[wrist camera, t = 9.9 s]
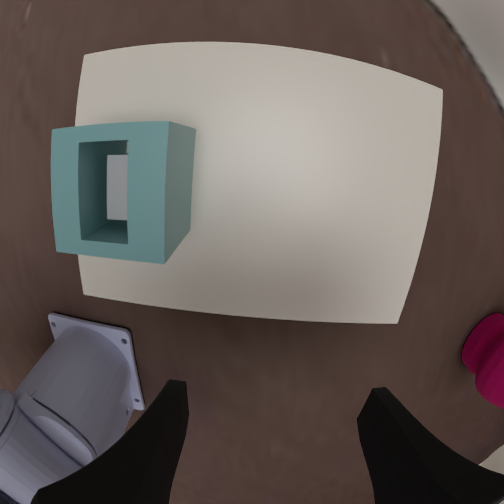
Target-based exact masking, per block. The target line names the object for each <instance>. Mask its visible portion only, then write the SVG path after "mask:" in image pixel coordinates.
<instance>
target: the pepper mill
mask: <svg viewBox="0 0 504 504" xmlns="http://www.w3.org/2000/svg"><path fill="white" fill-rule="evenodd" d="M462 361H463V363H464V364H465V365H466V367H467V368H468V369H469V371H470V372H471V373H473V374H476V378H475V384H476V388H477V390H478V392H479V393H480V394H481V395H482V397H483V398H484V399H486V400H487V401H488V402H490V403H491V404H494V405H496V406H498V407H501V408H503V409H504V315H502V314H500V313H495V314H491V315H489V316H488V317H486V318H484V319H483V320H482V321H481V322H480V323H479V324H478V325H477V326H476V327H475V328H474V329H473V331H472V332H471V334H470V335H469V336H468V338H467V340H466V342H465V344H464V347H463V350H462Z"/></svg>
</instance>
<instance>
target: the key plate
mask: <svg viewBox="0 0 504 504" xmlns="http://www.w3.org/2000/svg"><path fill="white" fill-rule="evenodd" d="M442 98H443V90H442V89H440V88H437V87H435V86H433V85H430V84H428V83H425V82H422V81H420V80H417V79H415V78H412V77H409V76H406V75H403V74H400V73H397V72H394V71H391V70H388V69H385V68H382V67H378V66H375V65H371V64H368V63H364V62H360V61H357V60H353V59H348V58H344V57H340V56H335V55H331V54H326V53H320V52H315V51H309V50H303V49H297V48H290V47H282V46H274V45H264V44H252V43H235V42H180V43H163V44H152V45H142V46H134V47H126V48H119V49H113V50H107V51H102V52H96V53H92V54H87V55H84V60H83V65H82V71H81V78H80V84H79V92H78V100H77V109H76V120H75V127H76V126H85V125H95V124H107V123H122V122H146V121H171V122H174V123H178V124H181V125H184V126H188V127H191V128H194V129H196V137H195V149H194V163H193V179H192V197H191V221H190V231H189V232H188V234H187V235H186V236H185V238H184V239H183V240H182V242H181V243H180V244H179V246H178V247H177V248H176V250H175V251H174V252H173V254H172V255H171V256H170V258H169V259H168V261H167V262H166V263H165V264H157V263H148V262H138V261H129V260H121V259H112V258H103V257H95V256H87V255H79V254H78V259H79V267H80V274H81V281H82V287H83V293H84V295H89V296H95V297H101V298H106V299H112V300H118V301H124V302H131V303H137V304H144V305H151V306H158V307H165V308H172V309H180V310H188V311H197V312H205V313H214V314H224V315H234V316H245V317H257V318H269V319H283V320H299V321H317V322H341V323H391V324H397V323H398V320H399V317H400V314H401V312H402V309H403V306H404V303H405V300H406V297H407V294H408V291H409V288H410V284H411V281H412V278H413V274H414V271H415V268H416V264H417V260H418V257H419V253H420V249H421V245H422V241H423V237H424V233H425V228H426V224H427V219H428V215H429V210H430V205H431V199H432V194H433V188H434V182H435V175H436V168H437V161H438V153H439V144H440V133H441V119H442ZM128 145H129V141H127V147H126V153H123V154H113V155H107V219H114V220H127V167H128Z"/></svg>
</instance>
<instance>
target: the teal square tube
mask: <svg viewBox="0 0 504 504" xmlns="http://www.w3.org/2000/svg"><path fill="white" fill-rule="evenodd" d="M195 137H196V129H194V128H191V127H188V126H184V125H181V124H178V123H174V122H171V121H146V122H122V123H107V124H95V125H85V126H76V127H67V128H60V129H53V130H52V142H51V194H52V212H53V224H54V234H55V243H56V251H57V252H63V253H71V254H79V255H87V256H95V257H103V258H112V259H121V260H129V261H138V262H148V263H157V264H165V263H166V262H167V261H168V259H169V258H170V256H171V255H172V254H173V252H174V251H175V250H176V248H177V247H178V246H179V244H180V243H181V242H182V240H183V239H184V238H185V236H186V235H187V234H188V232H189V231H190V221H191V197H192V179H193V163H194V149H195ZM127 141H129V145H128V167H127V220H114V219H107V155H113V154H123V153H126V147H127Z"/></svg>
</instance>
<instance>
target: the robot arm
mask: <svg viewBox="0 0 504 504" xmlns="http://www.w3.org/2000/svg"><path fill="white" fill-rule="evenodd" d="M48 319H49V323H50V326H51V330H52V333H53V336H54V340H55V341H54V342H53V344H52V345H51V346H50V347H49V348H48V350H47V351H46V352H45V353H44V354H43V356H42V357H41V358H40V359H39V361H38V362H37V363H36V364H35V366H34V367H33V368H32V369H31V371H30V372H29V373H28V374H27V376H26V377H25V378H24V379H23V381H22V382H21V383H20V385H19V386H18V387H17V389H16V390H15V391H14V393H13V394H11V393H10V392H9V391H8V390H5V389H3V390H0V504H169V498H170V491H171V486H172V482H173V478H174V475H175V471H176V468H177V464H178V461H179V457H180V454H181V451H182V447H183V443H184V440H185V436H186V430H187V424H188V418H189V409H188V398H187V386H186V382H184V381H177V380H171V379H170V380H169V381H167V383H166V384H165V386H164V387H163V389H162V390H161V392H160V393H159V394H158V396H157V397H156V399H155V400H154V401H153V402H152V404H151V405H150V406H149V407H148V409H147V410H146V411H145V412H144V413H143V415H142V416H141V417H140V418H139V419H138V421H137V422H136V423H135V424H134V425H133V426H132V427H131V428H130V429H129V430H128V431H127V432H126V433H125V434H124V432H125V430H126V427H127V425H128V422H129V419H130V417H131V414H132V412H133V409H137V410H143V409H144V407H145V405H144V400H143V396H142V392H141V387H140V383H139V378H138V373H137V368H136V363H135V357H134V352H133V346H132V340H131V334H130V332H129V331H128V330H127V329H124V328H120V327H115V326H109V325H105V324H100V323H95V322H90V321H86V320H81V319H77V318H73V317H69V316H65V315H60V314H57V313H50V314H49V315H48ZM124 339H125V340H126V341H125V340H124ZM357 424H358V431H359V438H360V442H361V446H362V449H363V453H364V456H365V460H366V463H367V467H368V470H369V474H370V477H371V481H372V485H373V490H374V498H375V504H499V503H500V502H501V501H503V500H504V475H503V474H500V473H497V472H494V471H491V470H488V469H486V468H483V467H481V466H479V465H477V464H475V463H473V462H471V461H469V460H468V459H466V458H464V457H462V456H461V455H459V454H458V453H456V452H455V451H453V450H452V449H450V448H449V447H448V446H446V445H445V444H444V443H442V442H441V441H440V440H438V439H437V438H436V437H435V436H434V435H433V434H432V433H430V432H429V431H428V430H427V429H426V428H425V427H424V426H423V425H422V424H421V423H420V422H419V421H418V420H417V419H416V418H415V417H414V416H413V415H412V414H411V413H410V412H409V411H408V410H407V409H406V408H405V407H404V406H403V405H402V404H401V403H400V402H399V401H398V399H397V398H396V397H395V396H394V395H393V394H392V393H391V392H390V391H389V390H388V389H387V388H386V387H382V388H373V389H372V391H371V393H370V395H369V397H368V399H367V401H366V403H365V405H364V407H363V408H362V410H361V412H360V414H359V416H358V418H357Z"/></svg>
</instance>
